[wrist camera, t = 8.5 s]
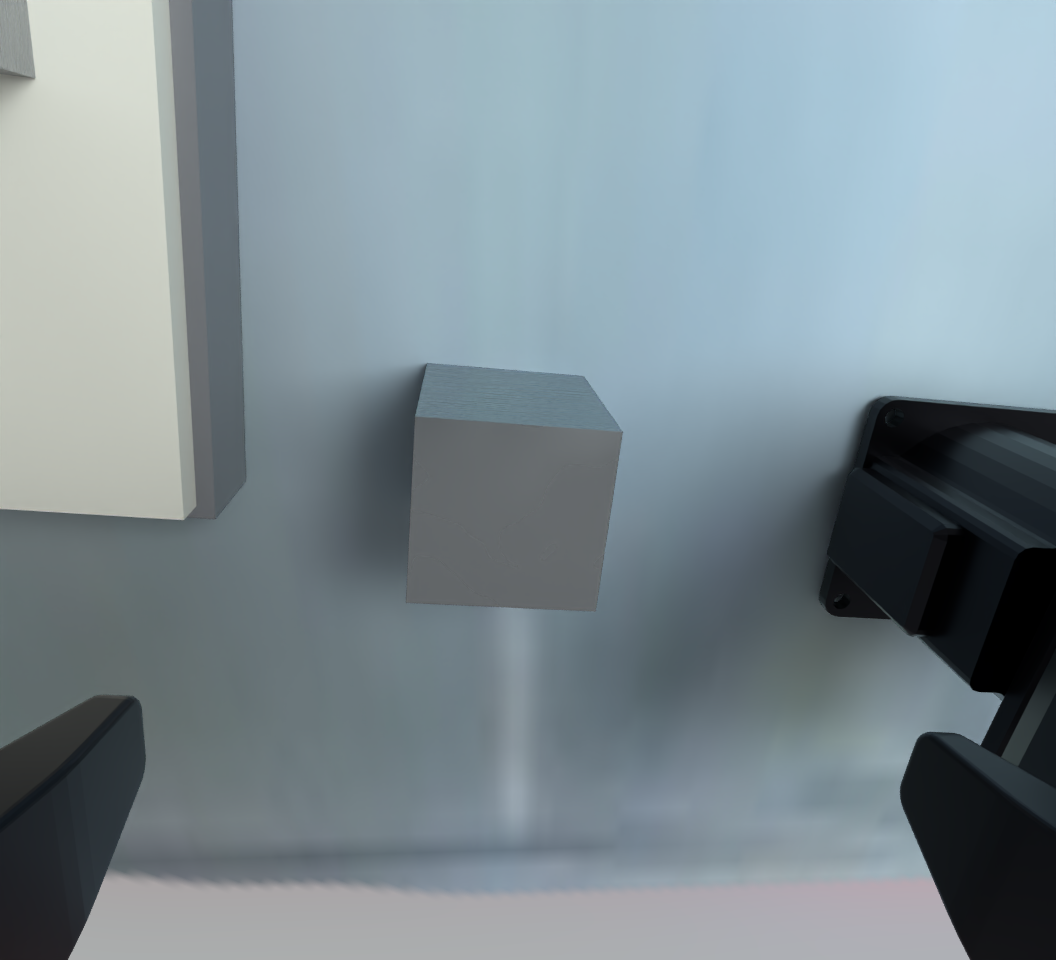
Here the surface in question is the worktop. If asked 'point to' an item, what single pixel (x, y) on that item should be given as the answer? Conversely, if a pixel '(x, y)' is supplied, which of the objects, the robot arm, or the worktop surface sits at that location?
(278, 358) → the worktop surface
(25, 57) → the block
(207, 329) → the scale
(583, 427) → the block
